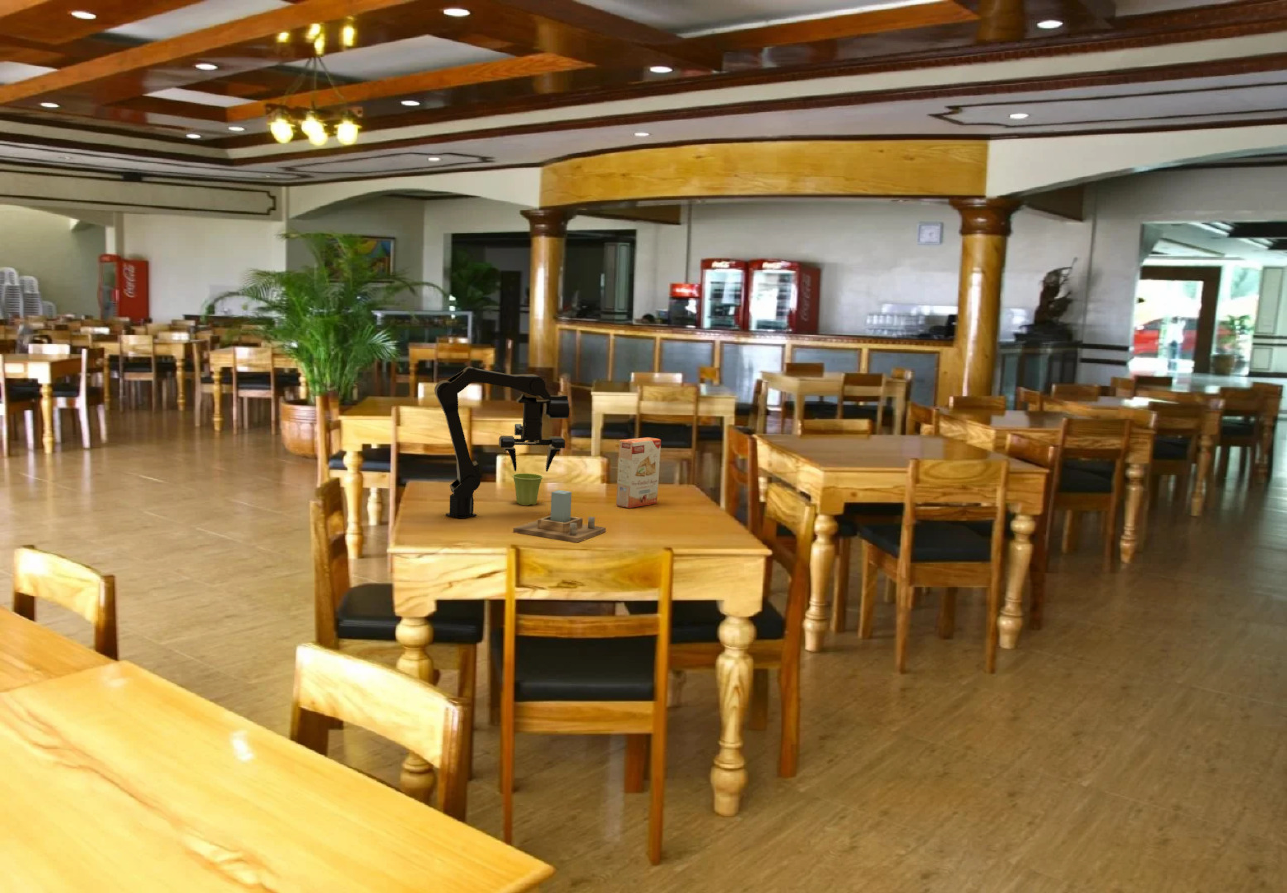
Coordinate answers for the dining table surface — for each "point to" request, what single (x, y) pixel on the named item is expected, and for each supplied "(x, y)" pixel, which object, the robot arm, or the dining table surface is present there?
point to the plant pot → (527, 487)
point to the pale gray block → (561, 506)
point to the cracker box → (638, 472)
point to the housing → (561, 529)
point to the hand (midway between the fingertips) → (531, 471)
